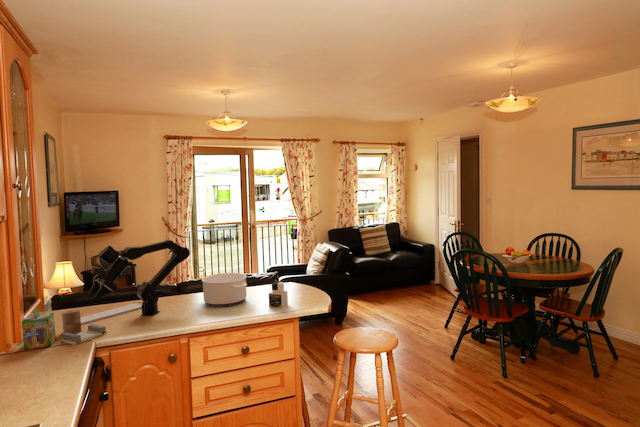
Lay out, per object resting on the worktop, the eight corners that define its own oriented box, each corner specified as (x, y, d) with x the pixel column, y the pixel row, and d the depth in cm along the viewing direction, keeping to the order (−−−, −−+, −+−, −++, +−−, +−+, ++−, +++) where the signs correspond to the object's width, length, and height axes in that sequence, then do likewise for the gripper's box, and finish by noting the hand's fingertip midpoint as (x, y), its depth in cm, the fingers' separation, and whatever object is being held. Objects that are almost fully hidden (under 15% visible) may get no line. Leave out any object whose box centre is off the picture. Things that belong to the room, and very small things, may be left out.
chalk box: (50, 346, 162) (47, 310, 161) (23, 350, 159) (20, 313, 158) (56, 338, 170) (54, 304, 169) (30, 342, 167) (27, 307, 166)
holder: (93, 330, 179) (93, 323, 179) (107, 333, 175) (106, 326, 175) (61, 341, 167) (60, 334, 166) (74, 344, 163) (74, 337, 162)
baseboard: (70, 321, 195) (81, 326, 188) (70, 315, 195) (81, 319, 188) (133, 305, 220) (145, 308, 212) (133, 299, 219) (144, 303, 212)
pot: (262, 302, 213) (261, 277, 213) (225, 314, 196) (223, 286, 195) (226, 293, 236) (224, 269, 235) (189, 302, 219) (187, 277, 218)
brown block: (79, 329, 182) (77, 309, 181) (81, 331, 179) (79, 311, 178) (63, 332, 178) (61, 312, 177) (65, 334, 175) (63, 314, 174)
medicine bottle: (269, 307, 205) (267, 283, 204) (275, 303, 211) (274, 280, 211) (281, 308, 202) (280, 284, 201) (288, 304, 209) (287, 281, 208)
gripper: (96, 257, 192) (71, 284, 186) (107, 261, 178) (80, 291, 172) (115, 271, 198) (91, 298, 191) (127, 276, 184) (102, 305, 178)
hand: (91, 298), depth 183 cm, fingers open, 9 cm apart
